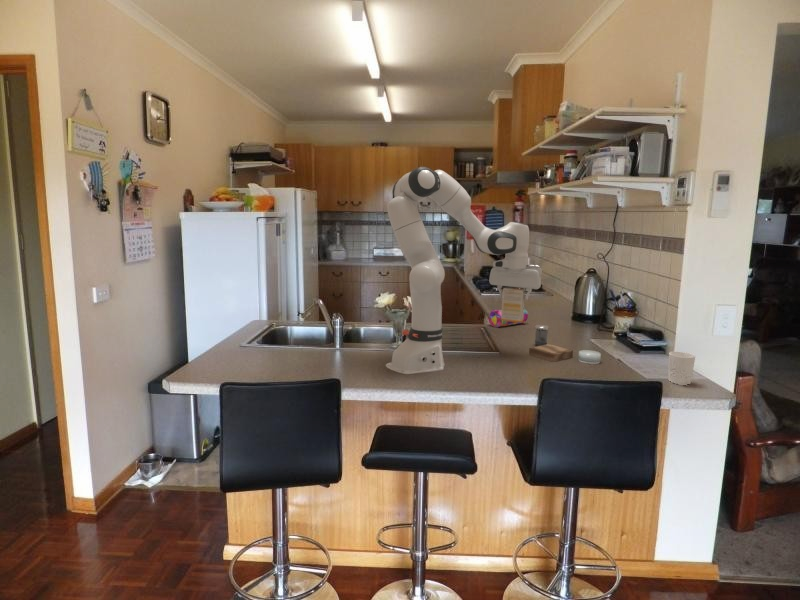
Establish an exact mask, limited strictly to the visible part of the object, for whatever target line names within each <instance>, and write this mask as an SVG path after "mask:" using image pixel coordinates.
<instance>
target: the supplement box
mask: <svg viewBox="0 0 800 600" xmlns="http://www.w3.org/2000/svg"><path fill="white" fill-rule="evenodd" d="M502 292H503V295H502V297H501V298H502V299H501V310H502V314H501V321H512V322H520V323H519V324H522V323H521V322H522V321H523V316H524V309H525V300H524V299H523V298H524V297H523V296H524V295H526V288H518V287H509V286H504V288H503V287H502Z"/></svg>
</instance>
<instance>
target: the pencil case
mask: <svg viewBox="0 0 800 600" xmlns="http://www.w3.org/2000/svg"><path fill="white" fill-rule="evenodd" d="M501 314H502V309H499V310H498V309H493V310H492V311H490V312H489V317H488V322H489V324H490V326H491V327H494V328H499V327H508V326H513V325H519V324H524V323H525V322H527V321H528V318H529V312H528V310H526V308H524V316H523V321H522V322H521V323H520V322H512V321H501Z"/></svg>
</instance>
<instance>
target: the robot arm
mask: <svg viewBox="0 0 800 600" xmlns="http://www.w3.org/2000/svg"><path fill="white" fill-rule="evenodd" d="M391 194H392V199H390V200H389V202H388V203H387V207H386V208H387V213H388V219H389V222H390V223H389V224H390V225H391V228H392V231H393V233H394V237H395V239H396V241H397V244H398V246H399V249H400V251H401V253H402V254H403V256H404V257H405V260H406V261H407V263H408V264H409V266H410V269H411V270H410V272H409V276H408V277H409V279H408V280H409V292H410V301H411V327H410V328H409V330H408V329H403V330H402V332H401V334H402V335H404V336H406V337H407V338H406V339H405V340H404V341H403V342H402V343H401V344H400V345H399V346H398V347H396V349H395V350H393V352H392V355H391V356H392V358H391V362H388V363H386V364H385V368H386V369H388V370H391V371H393V372H396V373H399V374H405V375H410V374H411V375H413V374H422V373H429V372H437V371H443V370H444V367H445V365H446V364H445V361H444V360H445V359H444V356H443V355H444V354H443V347H442V345H443V344H442V339H443V327H442V324H443V323H442V319H443V317H442V315H443V313H442V312H443V306H442V295H441V294H442V293H441V292H442V291H441V290H442V289H441V288H442V287H441V286H442V284H443V282H444V280H445V276H446V273H445V268H444V266H443V264H442V262H441V259H440V257H439V255H438V253H437V252H436V250H435V247H434V246H433V243H432V241H431V240H430V237H429V234H428V232H427V229H426V227H425V225H424V221H423V220H422V217H421V215H420V213H419V210H418V209H419V208H418V204H419V203H420V202H422V201H424V200H426V199H427V198H430V199H431V200H433V201H434V202H435V204H437V205H438V206H439V207H440V209H442V210H443V211H444V212H445V213H446V214H447V215H448V216H450V217H451V218H453V219H454V220H456V221H457V222H458V223H459V224H460V225H461V226H462V228H463V229H465V230H466V231H467V233H469V235H470V236H471V237H472V239H473V241H474V244H475V246H476V248H477V249H478V251H479V252H481V253H482V254H485V255H486V254H487V255H489V254H490V255H494V256H495V255H496V256H500V255H501V256H502V255H505V257H504V258H502V259H499V260H494V261H493V262H492V266H493V267H492V268H491V269H490V273H489V277H488V278H489V281H488V282H489V284H490V285H491V286H496V287H497V288H496V289H497V291H498V292H499V297H500V298H502V295H503V287H508V288H520V289H526V292H527V293H525V295H524V296H523V297H524V298H523V299H524V301H528V299H529V295H530V294H531V292H532V290H538V289H540V288H541V287H542V286H541V285H542V275H543V269H542V267H541V266H539V265H537V264H536V265H534V264H529V252H528V250H529V246H530V228H529V225H527V224H526V223H523V222H518V221H509V222H508V223H507V224H506V225H504V226H501V227H499V228H497V229H493V228H490V227H487V226H485V225H484V224H483V223H482V222H481V221H480V219H478V217H477V216H476V215H475V214H474V213H473V211H472V209H471V206H472V197H471V196H470V195H469V193H468V192H467V190H466V189H465V188H464V187H463V186H462V185H461V184H460V183H459V182H458V181H457V180H456V179H455V178H454V177H452V176H451V175H450V174H448V173H447V172H446V171H444V170H442V169H436V170H433V169H431V168H429V167H426V166H420V167H415V168H414V169H412V170H411V171H409V172H408V173H405V174H403V176H402V177H401V178H399V179H398V180H397V181H396V182H395V183H394V185H393V187H392V193H391Z"/></svg>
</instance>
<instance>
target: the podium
mask: <svg viewBox="0 0 800 600" xmlns="http://www.w3.org/2000/svg"><path fill="white" fill-rule="evenodd" d="M528 350H529V351H528V355H529V356H531V357H536V358H539V359H543V360H545V361H546V360H547V361H550V362H554V363H555V362H558V361H563V360H567V359H571V358H573V355H574V350H573V349H569V348H565V347H562V346H557V345H553V344H549V343H547V344H546V345H542V346H537V347H536V346H534V347H529V348H528Z"/></svg>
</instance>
